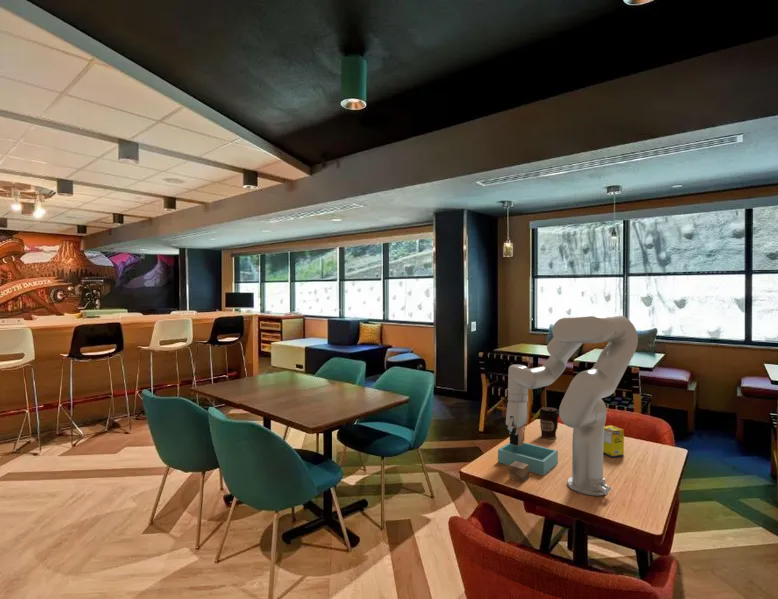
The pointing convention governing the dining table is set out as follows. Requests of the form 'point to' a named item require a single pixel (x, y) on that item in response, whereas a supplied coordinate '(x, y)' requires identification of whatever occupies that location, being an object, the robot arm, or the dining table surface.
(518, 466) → the cube
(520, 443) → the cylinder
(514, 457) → the tote
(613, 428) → the supplement box
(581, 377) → the robot arm
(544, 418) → the coffee cup
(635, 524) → the dining table surface
